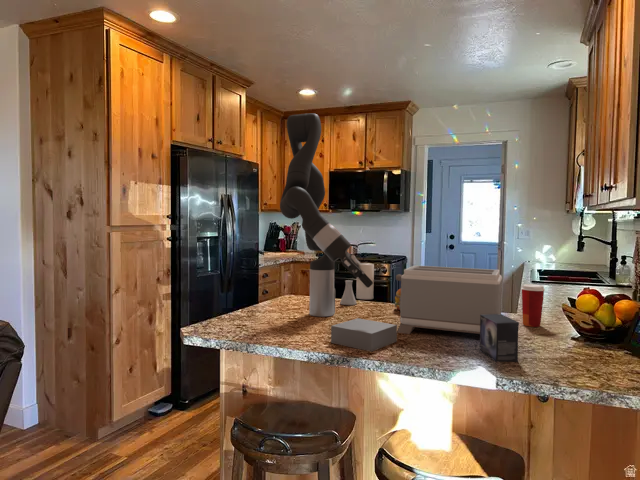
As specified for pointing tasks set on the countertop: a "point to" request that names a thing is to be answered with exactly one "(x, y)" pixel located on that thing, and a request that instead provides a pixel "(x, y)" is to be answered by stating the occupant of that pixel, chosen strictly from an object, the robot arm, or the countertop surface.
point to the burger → (398, 295)
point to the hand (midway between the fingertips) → (371, 284)
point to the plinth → (364, 334)
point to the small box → (499, 337)
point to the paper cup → (532, 304)
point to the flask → (348, 294)
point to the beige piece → (361, 289)
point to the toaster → (448, 298)
